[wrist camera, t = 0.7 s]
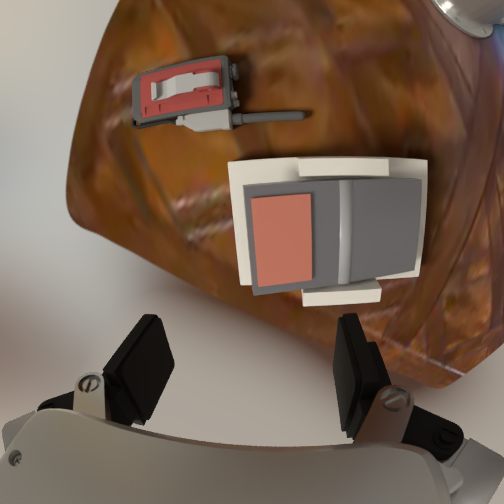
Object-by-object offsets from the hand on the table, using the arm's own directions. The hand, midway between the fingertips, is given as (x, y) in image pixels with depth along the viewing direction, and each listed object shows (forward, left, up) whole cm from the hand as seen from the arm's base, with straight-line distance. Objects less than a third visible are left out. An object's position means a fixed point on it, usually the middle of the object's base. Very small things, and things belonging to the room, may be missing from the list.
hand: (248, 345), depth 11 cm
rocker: (-7, 0, -16) cm, 17 cm away
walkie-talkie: (+5, -15, -23) cm, 28 cm away
